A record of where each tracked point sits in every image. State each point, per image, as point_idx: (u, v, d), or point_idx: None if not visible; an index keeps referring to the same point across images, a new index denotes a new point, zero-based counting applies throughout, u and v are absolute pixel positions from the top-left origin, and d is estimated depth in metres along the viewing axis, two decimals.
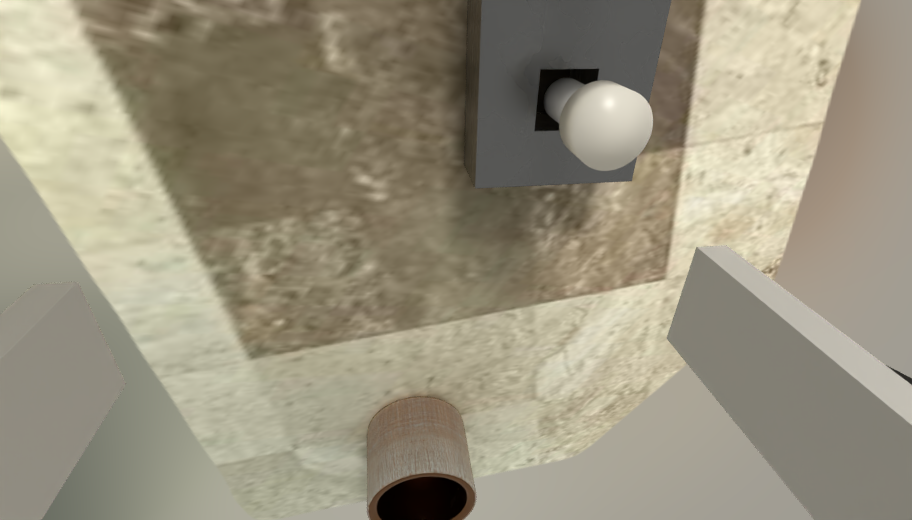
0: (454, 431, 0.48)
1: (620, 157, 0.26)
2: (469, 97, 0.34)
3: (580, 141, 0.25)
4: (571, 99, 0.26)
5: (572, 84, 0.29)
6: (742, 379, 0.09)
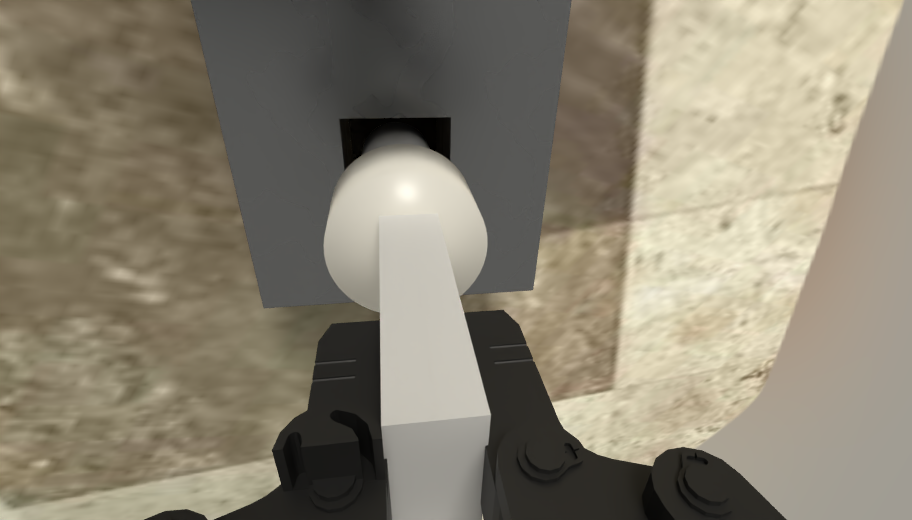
0: None
1: None
2: None
3: (341, 269, 0.13)
4: (339, 180, 0.13)
5: (387, 138, 0.17)
6: None
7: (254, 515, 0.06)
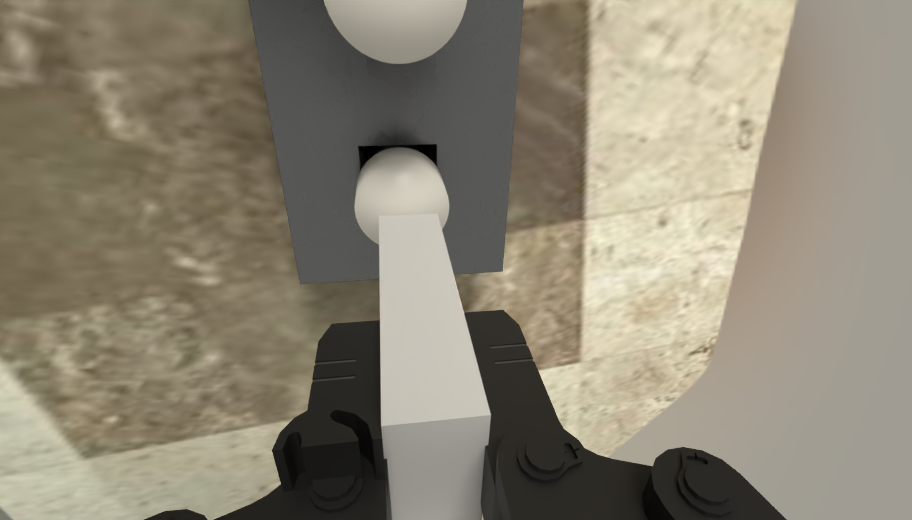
0: None
1: None
2: None
3: (364, 219, 0.22)
4: (362, 169, 0.23)
5: None
6: None
7: (254, 515, 0.06)
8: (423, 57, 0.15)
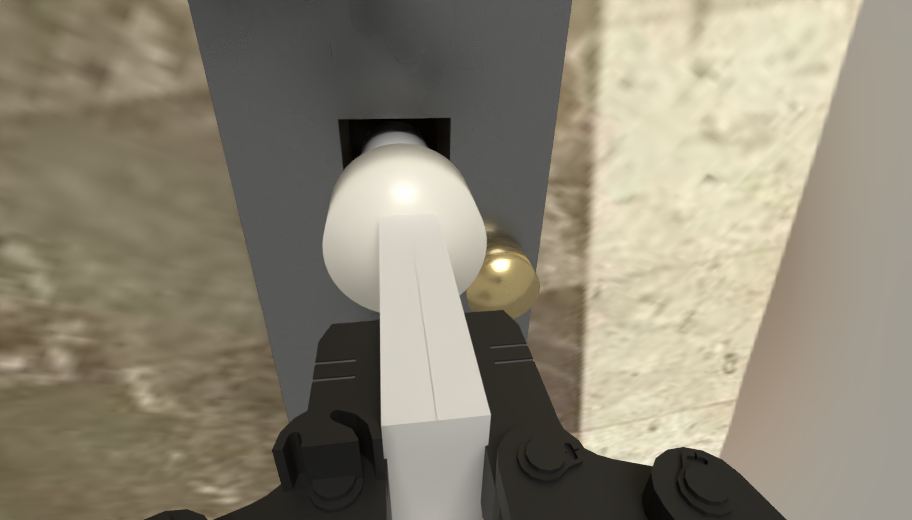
0: None
1: None
2: None
3: None
4: None
5: None
6: None
7: (254, 515, 0.06)
8: None
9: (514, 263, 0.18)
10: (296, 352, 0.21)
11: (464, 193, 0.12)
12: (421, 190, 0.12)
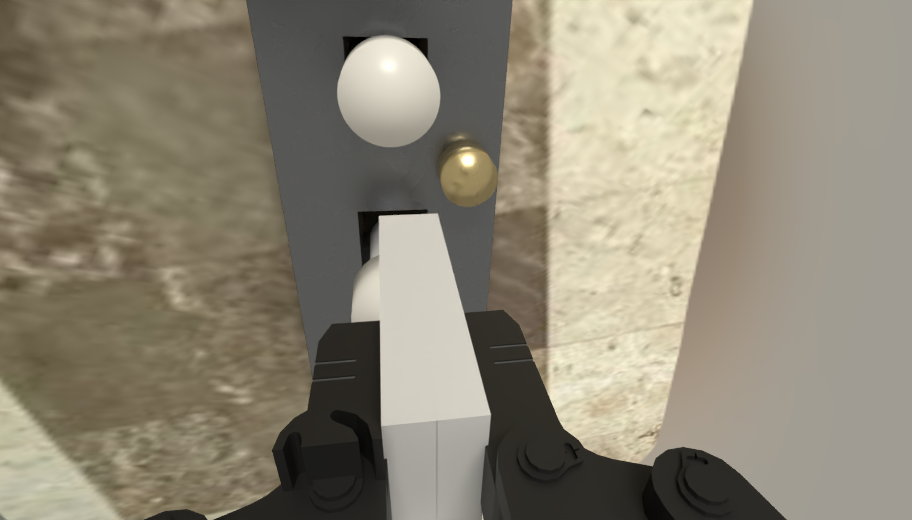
0: None
1: None
2: None
3: None
4: None
5: None
6: None
7: (254, 515, 0.06)
8: None
9: (477, 155, 0.24)
10: (306, 237, 0.27)
11: (425, 58, 0.20)
12: (397, 54, 0.19)
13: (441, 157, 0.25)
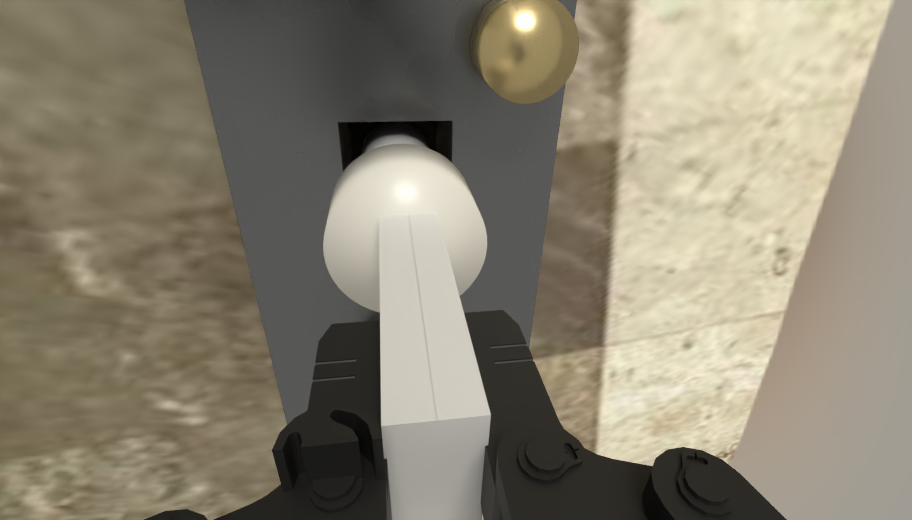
0: None
1: None
2: None
3: None
4: None
5: None
6: None
7: (254, 515, 0.06)
8: None
9: (546, 0, 0.13)
10: (255, 167, 0.16)
11: None
12: None
13: (478, 19, 0.15)
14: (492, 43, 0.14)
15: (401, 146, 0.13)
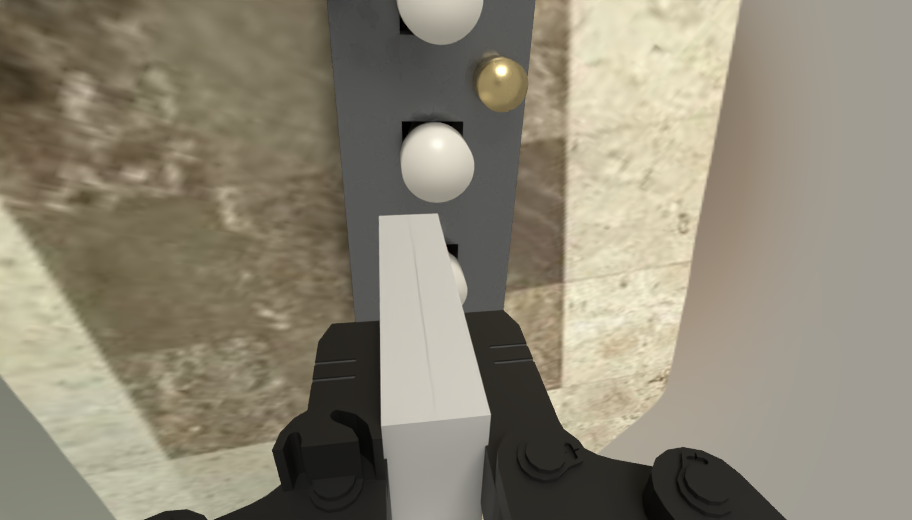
0: None
1: None
2: None
3: None
4: None
5: None
6: None
7: (254, 515, 0.06)
8: (450, 199, 0.29)
9: (511, 61, 0.27)
10: (356, 145, 0.30)
11: None
12: None
13: (477, 69, 0.28)
14: (484, 82, 0.27)
15: (435, 123, 0.29)
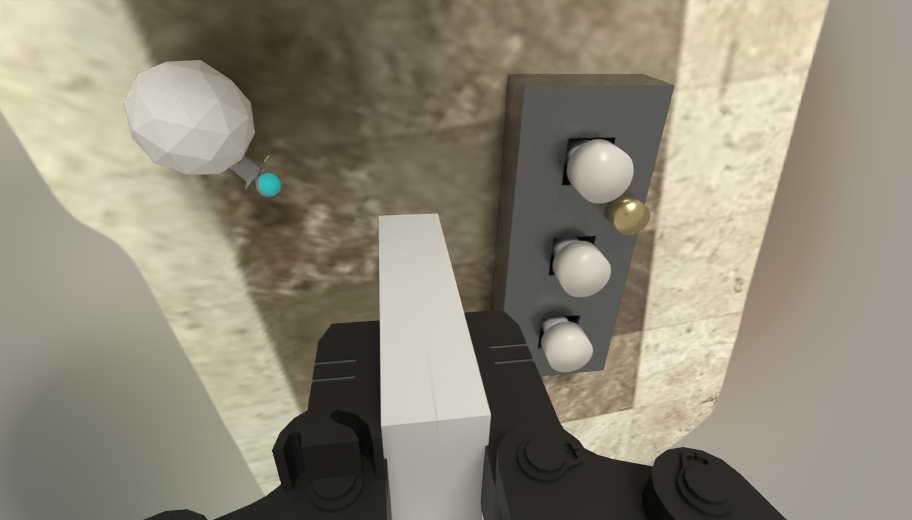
0: None
1: (575, 365, 0.45)
2: None
3: (552, 360, 0.45)
4: (547, 332, 0.45)
5: None
6: None
7: (254, 514, 0.06)
8: (590, 294, 0.41)
9: (640, 204, 0.39)
10: (520, 254, 0.42)
11: (628, 156, 0.35)
12: (615, 154, 0.35)
13: (612, 204, 0.40)
14: (620, 217, 0.39)
15: (581, 242, 0.41)
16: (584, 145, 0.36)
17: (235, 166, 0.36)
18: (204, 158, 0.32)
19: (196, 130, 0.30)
